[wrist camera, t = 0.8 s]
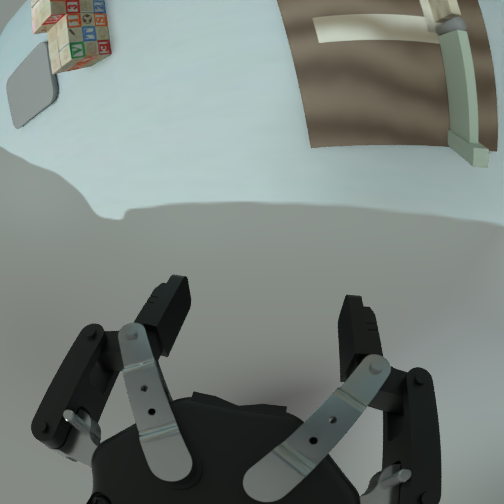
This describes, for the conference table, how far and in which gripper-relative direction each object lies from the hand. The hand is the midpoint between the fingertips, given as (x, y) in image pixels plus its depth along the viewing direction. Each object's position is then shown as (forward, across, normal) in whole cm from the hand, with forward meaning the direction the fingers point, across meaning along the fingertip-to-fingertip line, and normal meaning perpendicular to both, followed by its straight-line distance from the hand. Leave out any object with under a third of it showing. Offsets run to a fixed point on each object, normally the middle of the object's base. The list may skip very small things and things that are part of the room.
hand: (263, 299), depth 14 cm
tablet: (+36, +60, -20) cm, 73 cm away
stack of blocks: (+31, +34, -29) cm, 55 cm away
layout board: (+24, -12, -20) cm, 34 cm away
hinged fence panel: (+22, -20, -15) cm, 33 cm away
